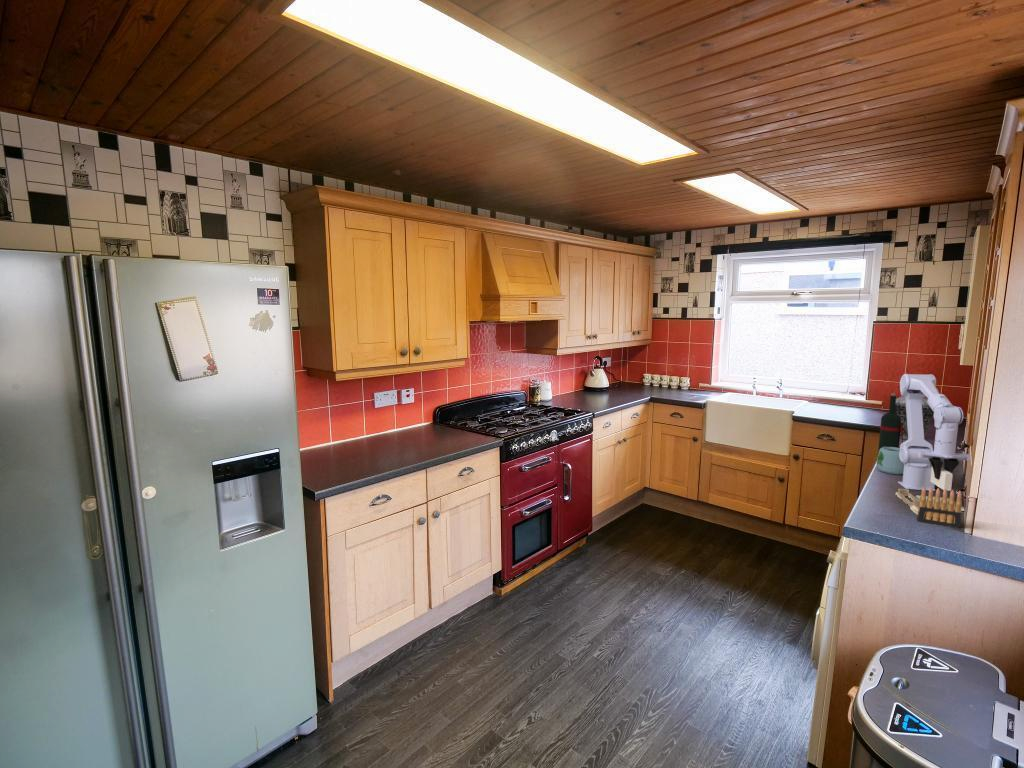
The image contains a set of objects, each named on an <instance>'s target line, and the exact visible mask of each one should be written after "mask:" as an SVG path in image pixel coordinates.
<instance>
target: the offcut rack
mask: <svg viewBox="0 0 1024 768" xmlns="http://www.w3.org/2000/svg"><path fill="white" fill-rule="evenodd" d="M896 495H897V497H898V499H900V500H901V499H902V500H903V501H902V500H901V501H902V502H903V503H905V505H907V504H908V505H907V506H909V509H910V510H911V511H912V512H913V513H914V514H916V515H917V516H918V510H919V502H920V500H919V499H918V498H917V497H916V495H915V496H914V495H913V494H912V493H911V492H910V489H906V488H898V491H896V492H895V496H896ZM905 496H908V497H907V498H906V497H905ZM908 498H911V499H910V500H909V499H908ZM911 500H912V501H911ZM926 503H927V502H926ZM925 512H926V511H925ZM932 514H933V512H932Z"/></svg>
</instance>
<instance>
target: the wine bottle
mask: <svg viewBox="0 0 1024 768" xmlns="http://www.w3.org/2000/svg"><path fill="white" fill-rule="evenodd" d="M889 399H890V400H889V408H888V412H886V413H884V414H883V415H882V416H881V418H880V427H879V428H880V429H879V437H878V438H879V439H878V449H877V455H878V454H879V450H880V448H882V447H896V448H900V440H901V444H902V443H903V442H904V438H903V435H902V438H901V437H900V433H901V434H902V433H903V431H904V427H903V425H901V418H900V417H899V415H897V414H896V413H895V405H896V399H897V395H896V392H891V393H890V397H889Z"/></svg>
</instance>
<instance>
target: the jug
mask: <svg viewBox="0 0 1024 768" xmlns="http://www.w3.org/2000/svg"><path fill="white" fill-rule="evenodd" d="M936 389H937V390H938V392H939V393H940V390H939V388H938V387H936ZM927 400H928V398H927V397H923V398H922V400H921V403H922V416H923V428H924V436H926V433H927V431H928V429H929V428H930V427H929V426H930V424H931V423H932V421H933V420H934V412H933V410H932V409H931V408H930V406H929V405H928V403H927ZM895 413H896V414H897V415H899V417H900V418H901V425H903V427H904V431H903V433H902V434H901V433H900V439H902V435H903V440H904V439H905V440H908V428H907V414H906V401H905V397H903V396H902V395H901V396H900V397H898V398H897V397H896V405H895Z"/></svg>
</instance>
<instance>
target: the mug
mask: <svg viewBox="0 0 1024 768" xmlns="http://www.w3.org/2000/svg"><path fill="white" fill-rule="evenodd" d="M899 452H900V447H899V448H896V447H882V448H880V450H879V454H878V453H877V458H876V469H878V470H879V471H880V472H882V473H884V474H890V475H903V471H904V463H902V461H901V460H900V458H899Z"/></svg>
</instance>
